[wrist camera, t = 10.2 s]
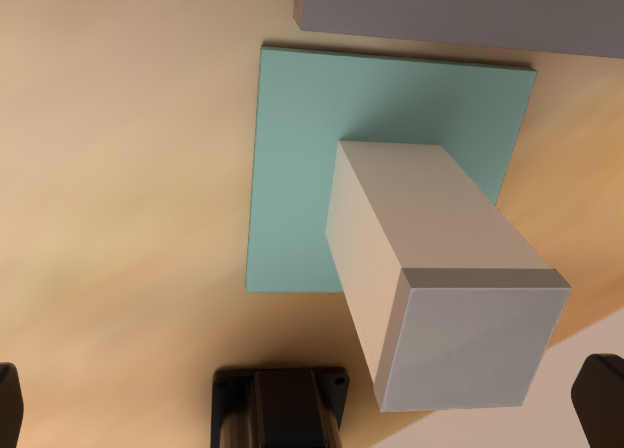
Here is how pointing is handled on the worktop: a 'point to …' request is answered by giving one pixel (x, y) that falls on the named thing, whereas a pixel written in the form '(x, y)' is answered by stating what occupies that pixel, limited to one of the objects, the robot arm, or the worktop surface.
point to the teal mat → (361, 127)
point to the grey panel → (477, 22)
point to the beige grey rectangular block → (437, 280)
